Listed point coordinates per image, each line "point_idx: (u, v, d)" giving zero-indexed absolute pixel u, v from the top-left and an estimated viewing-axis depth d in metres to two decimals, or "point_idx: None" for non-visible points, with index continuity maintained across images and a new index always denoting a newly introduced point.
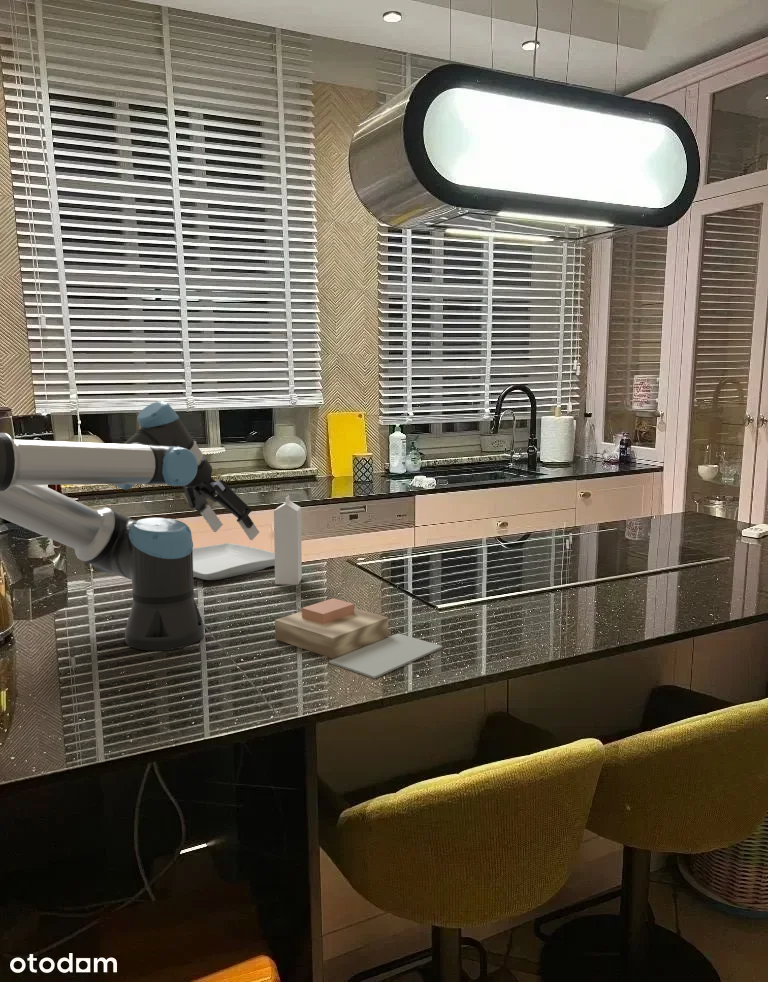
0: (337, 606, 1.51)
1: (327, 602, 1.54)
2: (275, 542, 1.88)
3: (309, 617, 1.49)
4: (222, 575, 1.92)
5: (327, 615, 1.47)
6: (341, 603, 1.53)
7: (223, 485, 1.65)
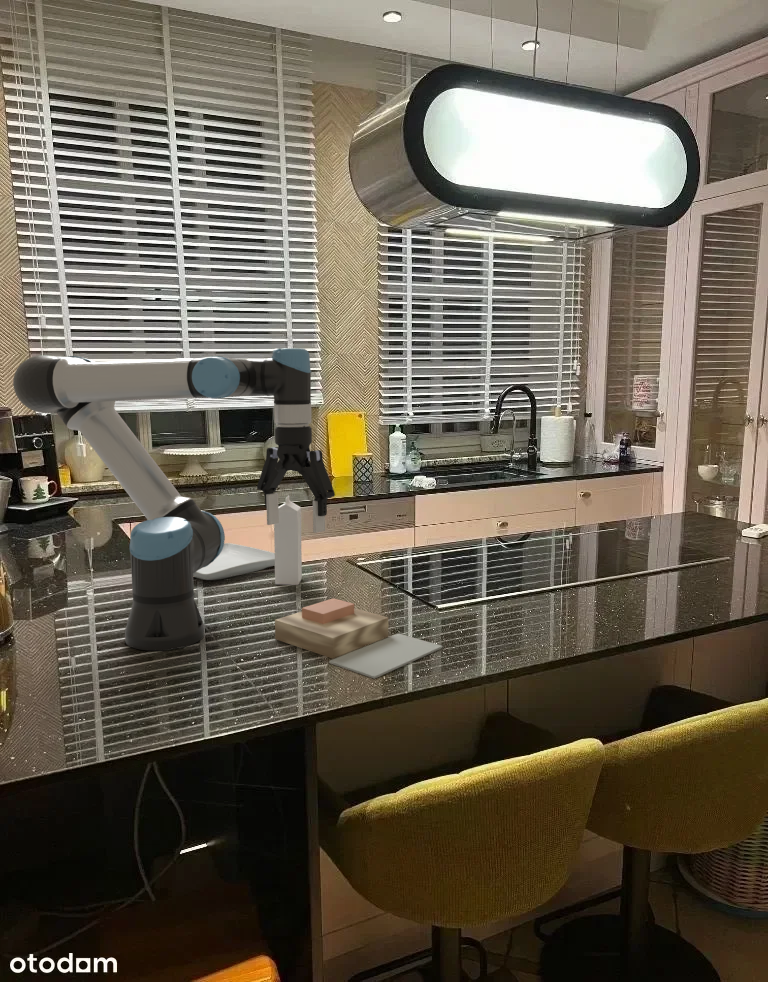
0: (337, 606, 1.51)
1: (327, 602, 1.54)
2: (275, 542, 1.88)
3: (309, 617, 1.49)
4: (222, 575, 1.92)
5: (327, 615, 1.47)
6: (341, 603, 1.53)
7: (320, 456, 1.50)
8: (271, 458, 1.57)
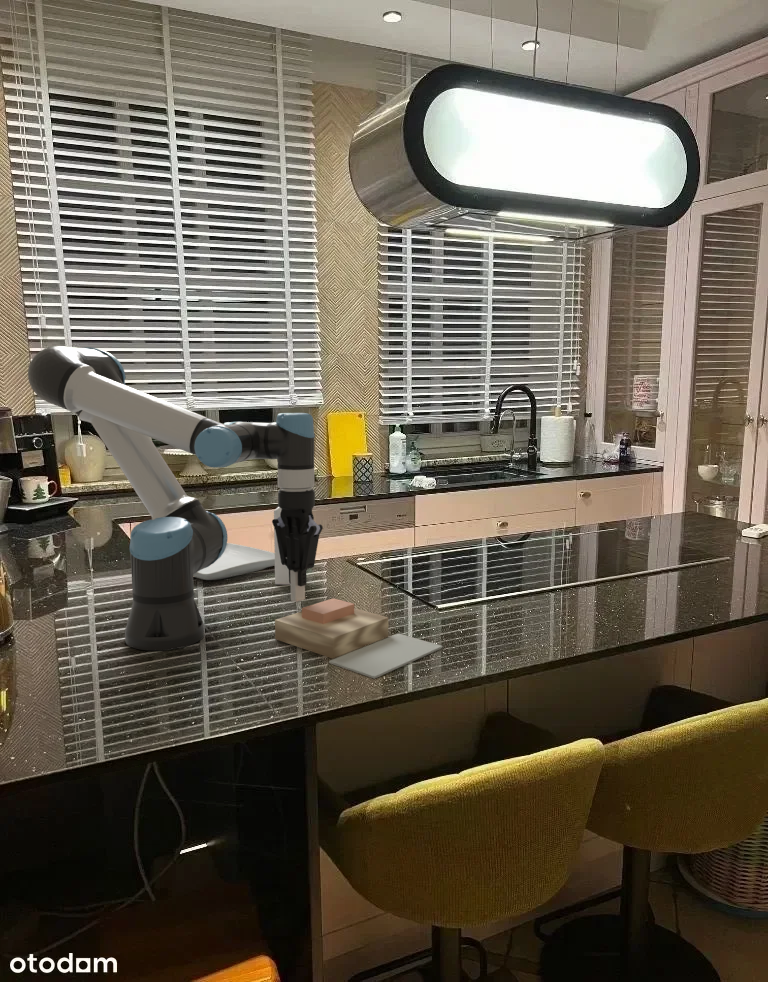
0: (337, 606, 1.51)
1: (327, 602, 1.54)
2: (275, 542, 1.88)
3: (309, 617, 1.49)
4: (222, 575, 1.92)
5: (327, 615, 1.47)
6: (341, 603, 1.53)
7: (318, 531, 1.52)
8: (279, 527, 1.58)
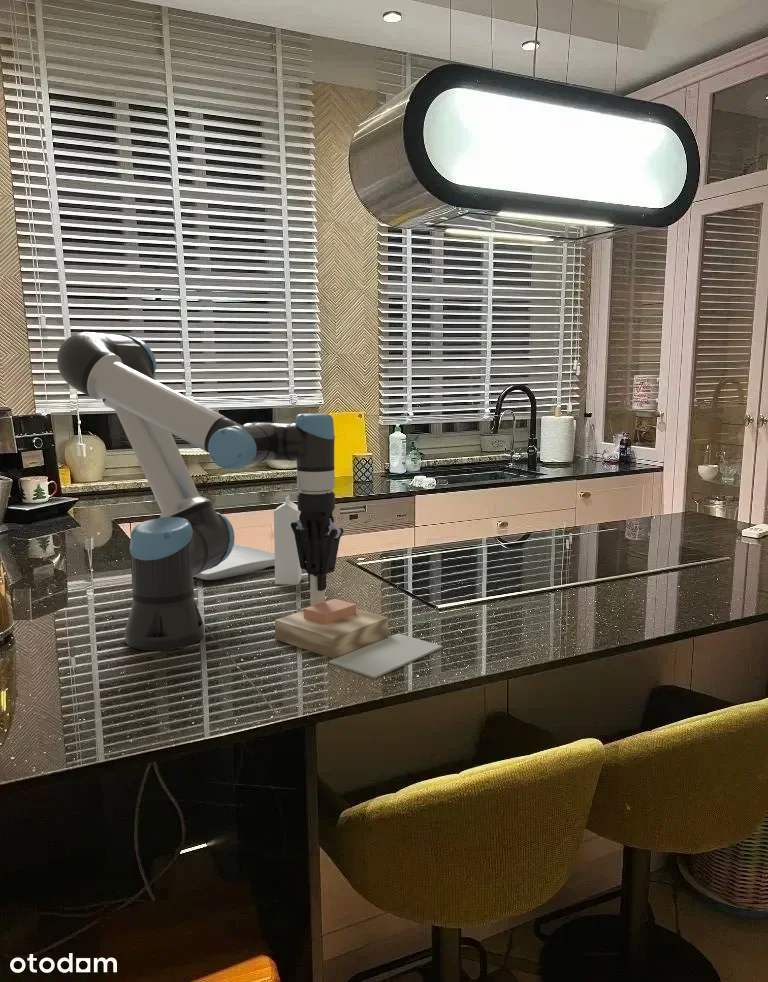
0: (339, 607, 1.51)
1: (329, 603, 1.53)
2: (275, 542, 1.88)
3: (311, 618, 1.49)
4: (222, 575, 1.92)
5: (329, 616, 1.47)
6: (343, 604, 1.53)
7: (339, 535, 1.48)
8: (298, 530, 1.54)
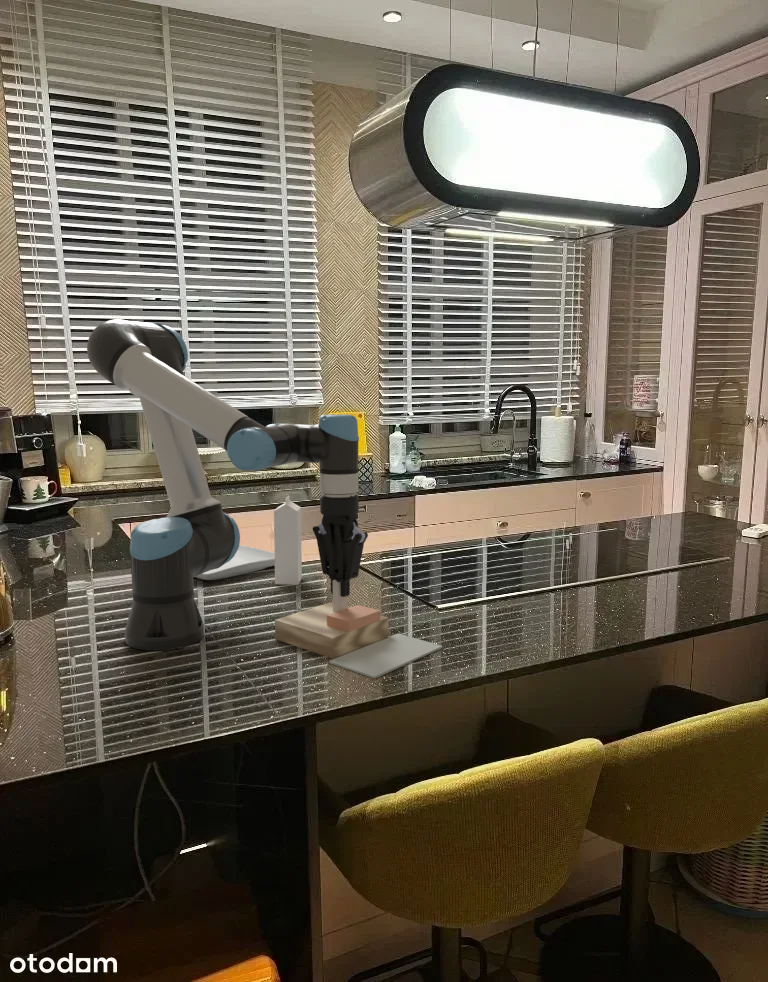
0: (363, 613, 1.47)
1: (352, 609, 1.49)
2: (275, 542, 1.88)
3: (334, 625, 1.45)
4: (222, 575, 1.92)
5: (353, 623, 1.43)
6: (366, 610, 1.49)
7: (363, 539, 1.44)
8: (321, 534, 1.50)
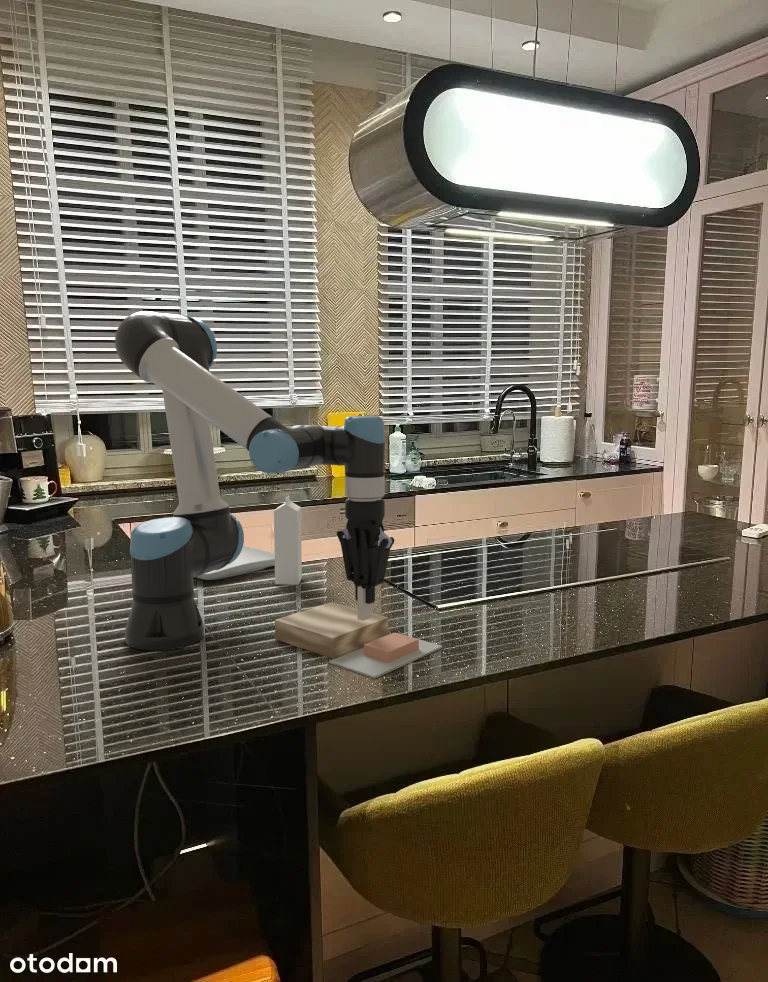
0: None
1: None
2: (275, 542, 1.88)
3: (379, 651, 1.38)
4: (222, 575, 1.92)
5: None
6: None
7: (390, 545, 1.40)
8: (345, 539, 1.45)
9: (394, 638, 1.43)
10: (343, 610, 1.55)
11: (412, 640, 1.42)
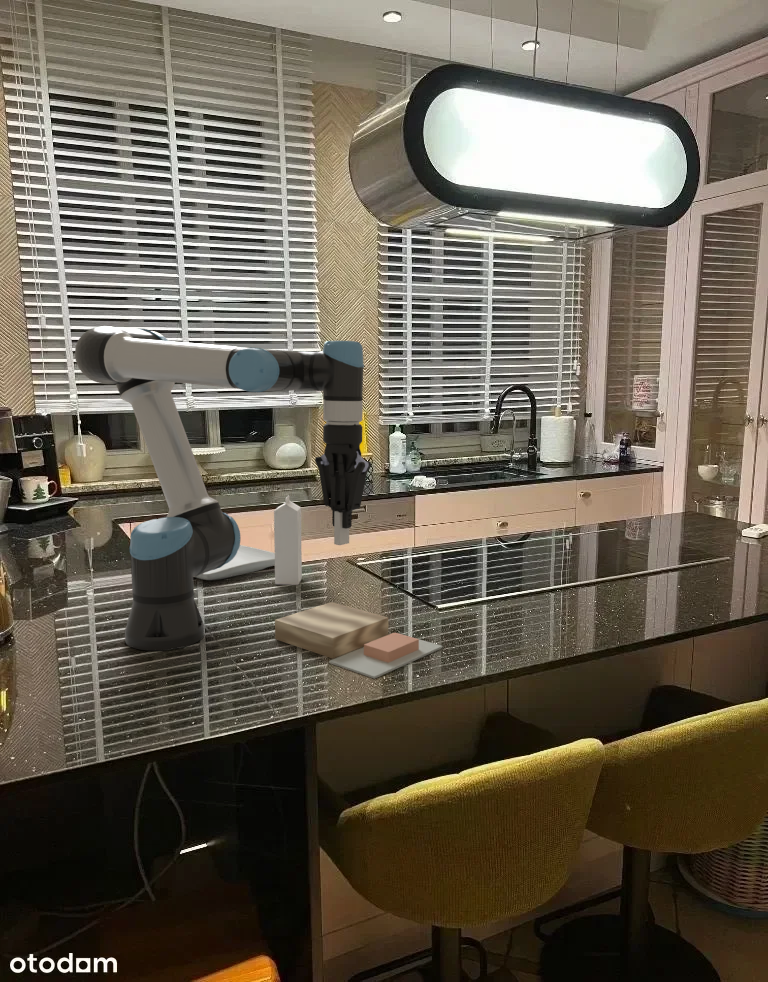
0: None
1: None
2: (275, 542, 1.88)
3: (379, 651, 1.38)
4: (222, 575, 1.92)
5: None
6: None
7: (367, 469, 1.42)
8: (323, 465, 1.47)
9: (394, 638, 1.43)
10: (343, 610, 1.55)
11: (412, 640, 1.42)
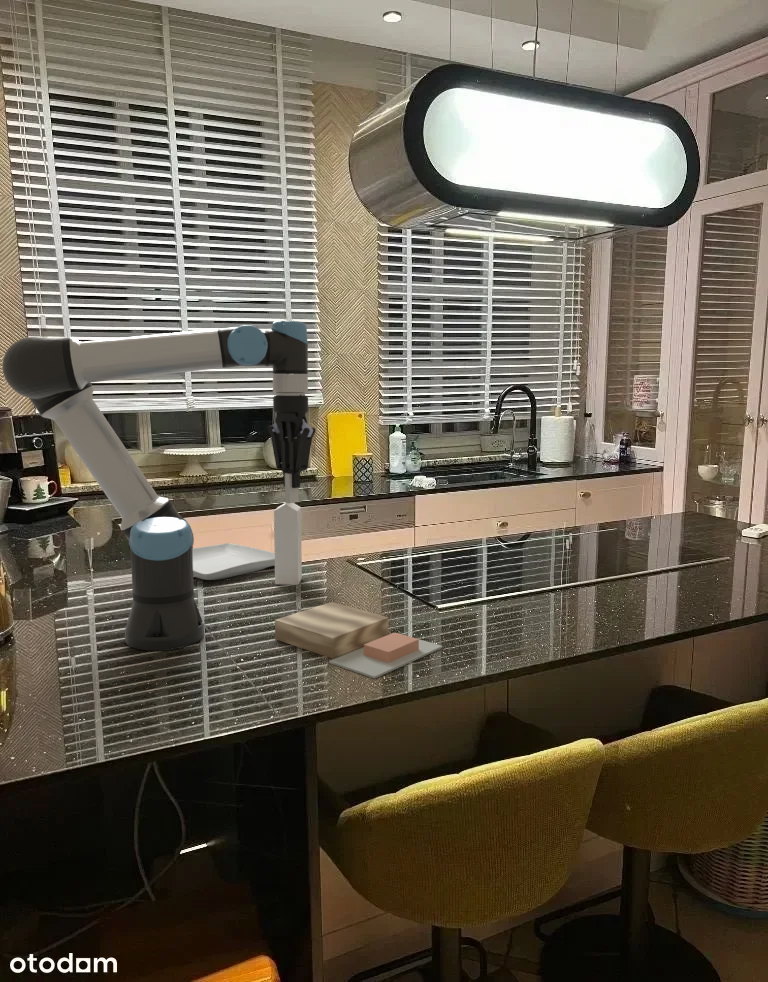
0: None
1: None
2: (275, 542, 1.88)
3: (379, 651, 1.38)
4: (222, 575, 1.92)
5: None
6: None
7: (311, 434, 1.60)
8: (275, 433, 1.66)
9: (394, 638, 1.43)
10: (343, 610, 1.55)
11: (412, 640, 1.42)
